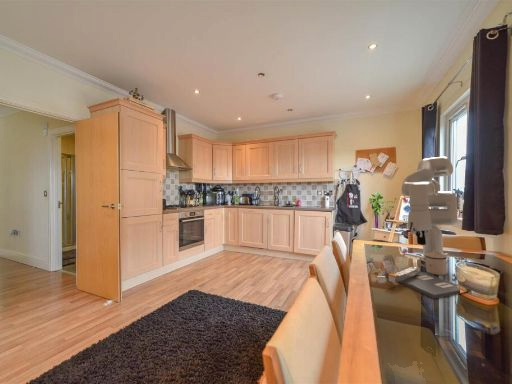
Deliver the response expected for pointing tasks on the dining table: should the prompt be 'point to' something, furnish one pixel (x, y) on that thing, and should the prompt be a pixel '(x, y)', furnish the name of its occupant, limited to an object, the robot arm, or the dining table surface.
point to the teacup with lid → (435, 263)
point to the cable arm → (404, 274)
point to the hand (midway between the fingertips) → (421, 244)
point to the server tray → (431, 285)
